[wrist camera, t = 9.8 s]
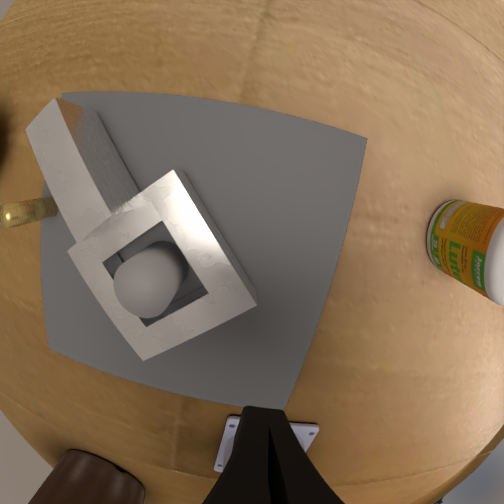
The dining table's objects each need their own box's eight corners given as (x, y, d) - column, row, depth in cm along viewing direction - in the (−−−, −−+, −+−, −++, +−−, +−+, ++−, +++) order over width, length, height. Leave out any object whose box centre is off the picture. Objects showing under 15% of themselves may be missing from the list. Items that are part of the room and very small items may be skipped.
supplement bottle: (412, 231, 17) (516, 276, 8) (456, 184, 16) (560, 199, 7) (442, 285, 18) (527, 344, 9) (482, 239, 17) (570, 275, 8)
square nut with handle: (256, 291, 17) (257, 328, 12) (152, 344, 18) (129, 385, 13) (132, 84, 14) (97, 58, 9) (44, 162, 15) (-2, 163, 10)
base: (282, 404, 20) (287, 450, 16) (55, 343, 19) (24, 373, 15) (361, 140, 16) (399, 128, 11) (70, 96, 15) (27, 80, 10)
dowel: (58, 218, 16) (11, 231, 11) (44, 215, 16) (-3, 227, 11) (59, 197, 15) (11, 206, 11) (45, 195, 15) (-2, 203, 11)
